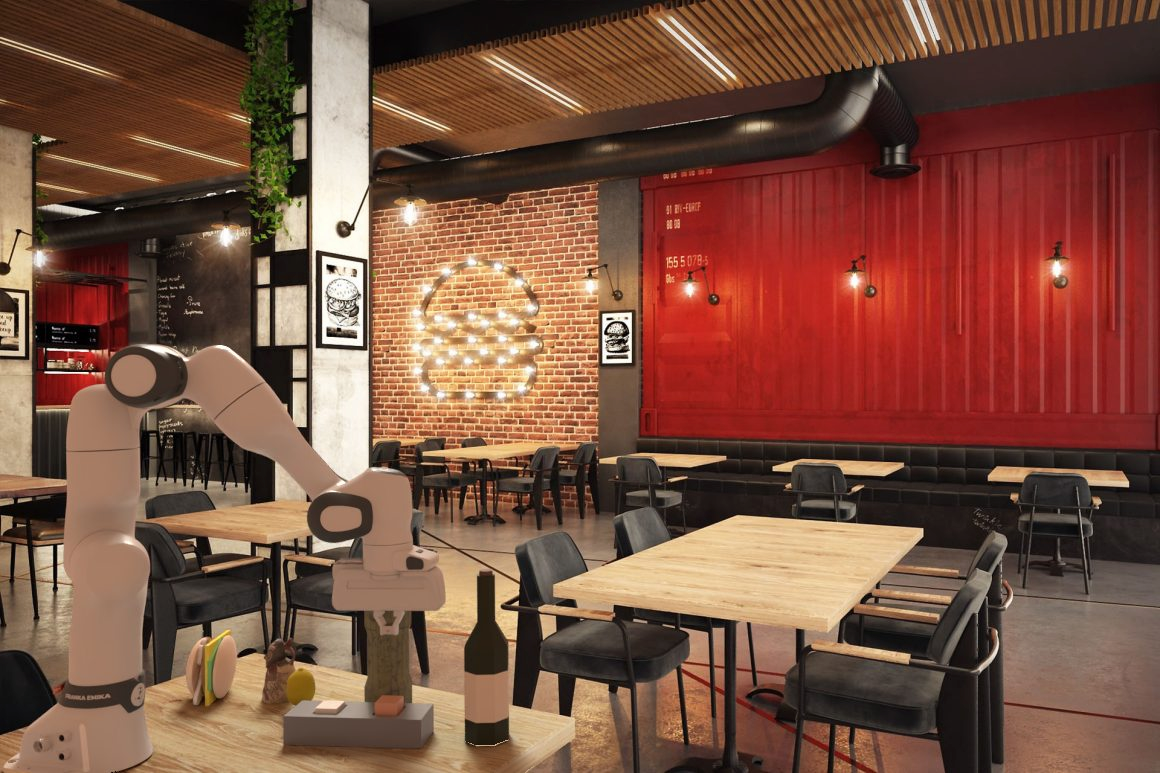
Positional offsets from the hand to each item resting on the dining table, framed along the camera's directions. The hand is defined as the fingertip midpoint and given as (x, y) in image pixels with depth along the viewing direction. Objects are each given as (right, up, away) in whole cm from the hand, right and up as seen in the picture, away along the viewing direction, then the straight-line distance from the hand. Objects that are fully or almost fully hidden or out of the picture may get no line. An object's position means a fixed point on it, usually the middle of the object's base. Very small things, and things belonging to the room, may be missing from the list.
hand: (389, 634), depth 155 cm
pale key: (-11, -16, +1) cm, 20 cm away
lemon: (-21, -19, +15) cm, 32 cm away
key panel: (-5, -19, 0) cm, 19 cm away
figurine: (-27, -19, +22) cm, 40 cm away
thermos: (-2, -19, +10) cm, 21 cm away
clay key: (0, -15, 0) cm, 15 cm away
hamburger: (-42, -20, +24) cm, 52 cm away
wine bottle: (+18, -19, -1) cm, 26 cm away
